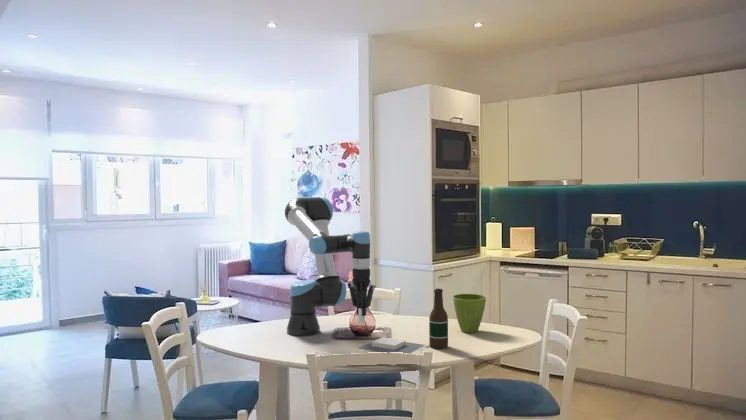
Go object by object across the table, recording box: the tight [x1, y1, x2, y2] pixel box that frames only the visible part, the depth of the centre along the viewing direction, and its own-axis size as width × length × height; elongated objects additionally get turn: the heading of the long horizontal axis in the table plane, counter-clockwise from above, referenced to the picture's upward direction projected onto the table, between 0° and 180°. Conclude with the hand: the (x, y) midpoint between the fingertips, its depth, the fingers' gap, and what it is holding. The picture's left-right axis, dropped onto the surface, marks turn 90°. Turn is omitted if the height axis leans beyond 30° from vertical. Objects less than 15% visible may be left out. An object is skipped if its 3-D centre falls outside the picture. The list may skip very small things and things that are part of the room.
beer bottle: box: [428, 288, 449, 350], centre depth 228 cm, size 8×8×24 cm
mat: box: [358, 338, 426, 354], centre depth 227 cm, size 22×18×1 cm
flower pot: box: [452, 293, 487, 334], centre depth 254 cm, size 15×15×16 cm
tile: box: [371, 336, 407, 350], centre depth 228 cm, size 2×9×11 cm
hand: (361, 323), depth 235 cm, fingers closed
